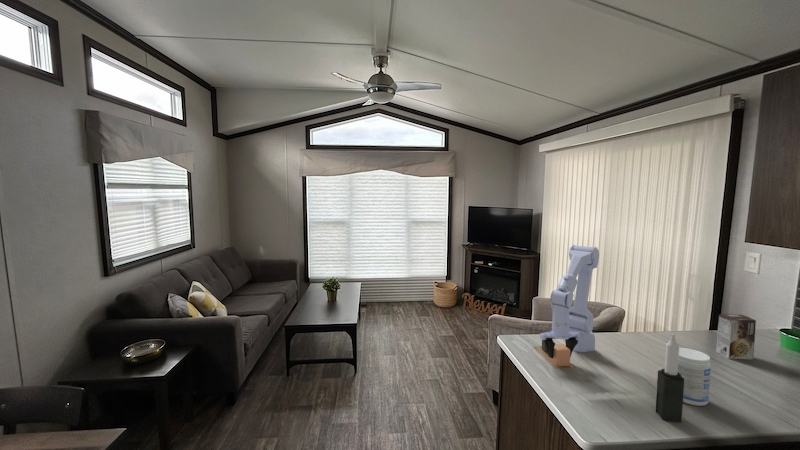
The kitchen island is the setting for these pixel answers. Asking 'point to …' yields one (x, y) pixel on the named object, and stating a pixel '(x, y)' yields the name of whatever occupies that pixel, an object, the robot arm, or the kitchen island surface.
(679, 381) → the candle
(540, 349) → the stand
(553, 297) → the robot arm
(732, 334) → the printed cardboard box
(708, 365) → the supplement tub
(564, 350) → the peach cube
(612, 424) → the kitchen island surface
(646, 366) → the kitchen island surface
